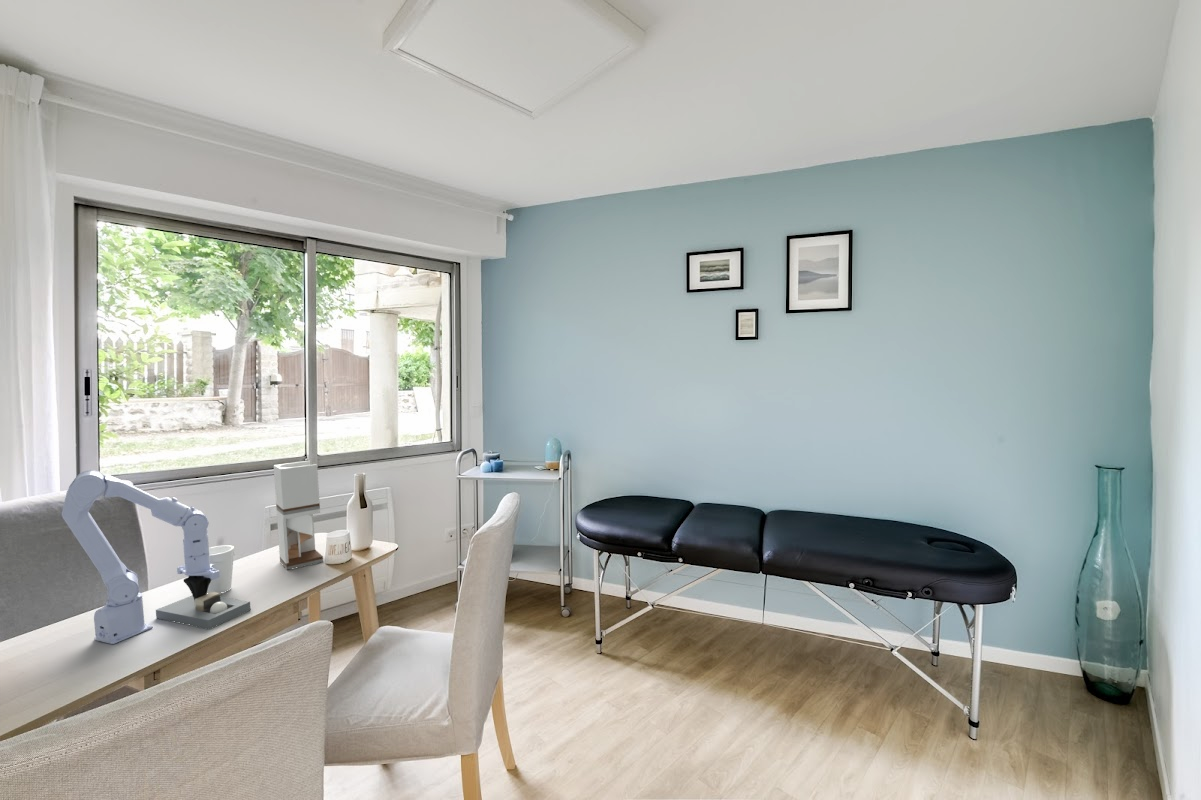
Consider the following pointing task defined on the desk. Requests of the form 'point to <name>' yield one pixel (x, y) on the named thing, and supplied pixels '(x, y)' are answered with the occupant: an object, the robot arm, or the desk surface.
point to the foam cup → (221, 567)
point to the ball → (218, 607)
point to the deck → (201, 612)
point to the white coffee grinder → (297, 513)
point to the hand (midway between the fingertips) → (200, 600)
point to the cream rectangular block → (207, 601)
